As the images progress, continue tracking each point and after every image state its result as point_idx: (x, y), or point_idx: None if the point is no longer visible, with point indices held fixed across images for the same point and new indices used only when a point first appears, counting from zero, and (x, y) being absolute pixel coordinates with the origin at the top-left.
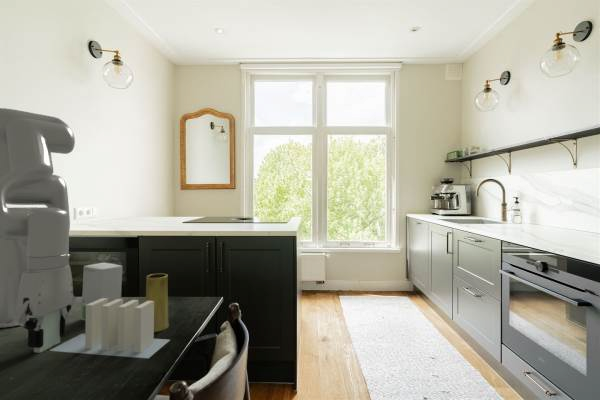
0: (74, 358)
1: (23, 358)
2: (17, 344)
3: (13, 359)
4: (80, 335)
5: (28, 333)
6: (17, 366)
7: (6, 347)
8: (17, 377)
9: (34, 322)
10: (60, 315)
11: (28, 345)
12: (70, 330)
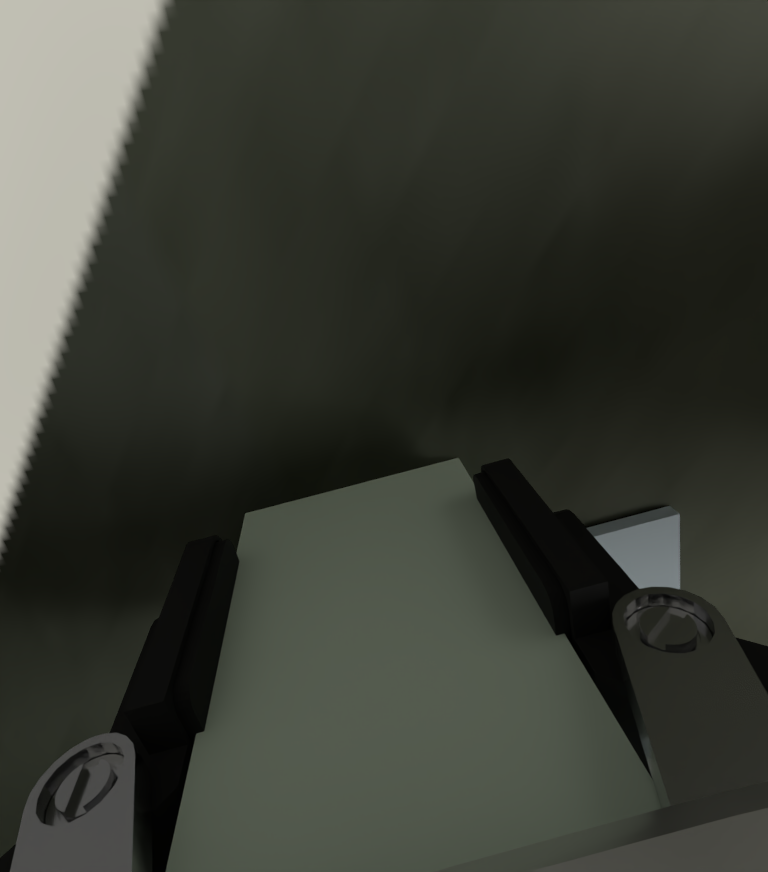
0: None
1: (152, 527)
2: (288, 64)
3: (90, 470)
4: (639, 546)
5: (112, 732)
6: (61, 629)
7: (170, 18)
8: (2, 776)
9: (173, 858)
10: (642, 754)
11: (188, 550)
12: (764, 273)
